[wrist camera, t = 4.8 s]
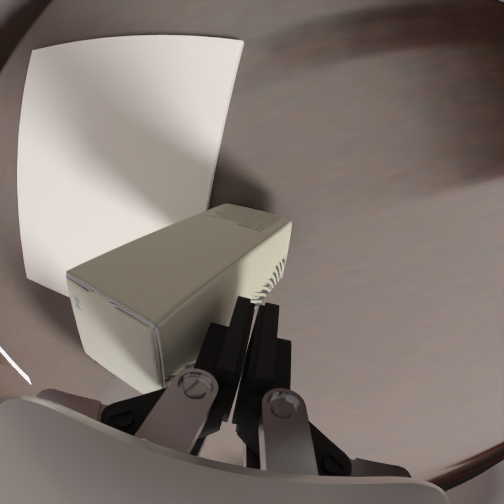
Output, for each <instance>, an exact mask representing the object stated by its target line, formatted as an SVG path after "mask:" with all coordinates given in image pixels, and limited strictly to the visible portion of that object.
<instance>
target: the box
mask: <svg viewBox="0 0 504 504" xmlns="http://www.w3.org/2000/svg"><path fill="white" fill-rule="evenodd" d="M291 227H292V221H291V220H290V219H288V218H285V217H282V216H278V215H275V214H271V213H267V212H263V211H259V210H255V209H251V208H247V207H242V206H238V205H233V204H228V203H225V204H222V205H220V206H217V207H214V208H212V209H209V210H207V211H204V212H202V213H199V214H197V215H194V216H192V217H189V218H187V219H184V220H182V221H179V222H177V223H174V224H172V225H169V226H167V227H164V228H162V229H159V230H157V231H155V232H152V233H150V234H148V235H145V236H143V237H140V238H138V239H136V240H133V241H131V242H129V243H126V244H124V245H122V246H120V247H117V248H115V249H113V250H111V251H108V252H106V253H104V254H102V255H100V256H97V257H95V258H93V259H91V260H89V261H86V262H84V263H82V264H80V265H78V266H76V267H74V268H72V269H70V270H68V271H66V280H67V286H68V291H69V295H70V300H71V304H72V308H73V312H74V316H75V320H76V324H77V327H78V331H79V335H80V338H81V342H82V345H83V348H84V351H85V352H86V354H88V355H89V356H90V357H91V358H93V359H94V360H95V361H97V362H98V363H99V364H101V365H102V366H103V367H105V368H106V369H107V370H109V371H110V372H111V373H113V374H114V375H115V376H117V377H118V378H120V379H121V380H122V381H124V382H125V383H127V384H128V385H130V386H131V387H133V388H134V389H136V390H137V391H139V392H140V393H142V394H146V393H150V392H153V391H156V390H160V389H163V388H166V387H168V386H169V384H170V383H171V381H172V380H173V378H174V377H175V376H176V375H177V374H178V373H179V372H181V371H183V370H185V369H190V368H194V365H195V363H196V360H197V357H198V355H199V352H200V349H201V347H202V344H203V342H204V339H205V337H206V334H207V331H208V329H209V326H210V324H211V322H213V323H216V324H220V325H224V326H228V327H229V324H230V321H231V317H232V314H233V311H234V307H235V304H236V301H237V297H238V296H241V297H246V298H250V299H251V303H255V309H256V307H257V306H258V305H259V304H260V303H261V302H262V300H263V299H264V298H265V297H266V296H267V294H268V293H269V292H270V291H271V290H272V289H273V287H274V286H275V285H276V284H277V283H278V281H279V280H280V279H281V278H282V276H283V272H284V267H285V263H286V258H287V253H288V248H289V242H290V235H291Z"/></svg>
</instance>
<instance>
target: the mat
mask: <svg viewBox="0 0 504 504" xmlns="http://www.w3.org/2000/svg"><path fill="white" fill-rule="evenodd" d="M243 46H244V42H243V41H241V40H234V39H225V38H215V37H203V36H185V35H138V36H120V37H109V38H99V39H91V40H83V41H77V42H71V43H65V44H59V45H54V46H50V47H45V48H41V49H36V50H32V54H31V58H30V63H29V67H28V72H27V77H26V82H25V88H24V94H23V101H22V108H21V117H20V127H19V140H18V162H17V187H18V210H19V223H20V234H21V242H22V250H23V257H24V264H25V270H26V275H27V278H28V279H30V280H32V281H34V282H36V283H38V284H41V285H43V286H45V287H47V288H49V289H51V290H54V291H56V292H58V293H60V294H63V295H65V296H67V297H70V295H69V291H68V286H67V280H66V271H68V270H70V269H72V268H74V267H76V266H78V265H80V264H82V263H84V262H86V261H89V260H91V259H93V258H95V257H97V256H100V255H102V254H104V253H106V252H108V251H111V250H113V249H115V248H117V247H120V246H122V245H124V244H126V243H129V242H131V241H133V240H136V239H138V238H140V237H143V236H145V235H148V234H150V233H152V232H155V231H157V230H159V229H162V228H164V227H167V226H169V225H172V224H174V223H177V222H179V221H182V220H184V219H187V218H189V217H192V216H194V215H197V214H199V213H202V212H204V211H207V210H208V207H209V201H210V196H211V190H212V185H213V180H214V175H215V169H216V164H217V159H218V154H219V149H220V145H221V140H222V135H223V130H224V126H225V121H226V117H227V112H228V108H229V103H230V99H231V95H232V90H233V86H234V82H235V78H236V74H237V70H238V65H239V62H240V58H241V54H242V50H243Z"/></svg>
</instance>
